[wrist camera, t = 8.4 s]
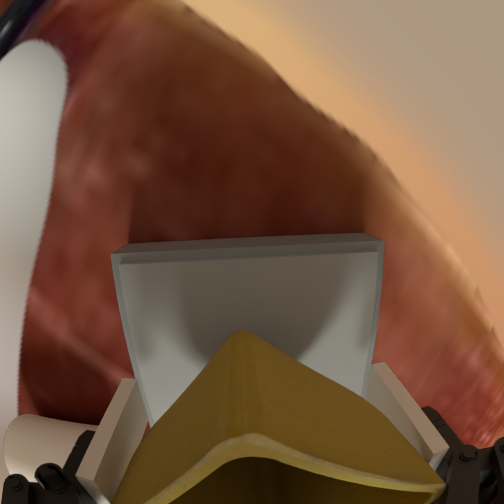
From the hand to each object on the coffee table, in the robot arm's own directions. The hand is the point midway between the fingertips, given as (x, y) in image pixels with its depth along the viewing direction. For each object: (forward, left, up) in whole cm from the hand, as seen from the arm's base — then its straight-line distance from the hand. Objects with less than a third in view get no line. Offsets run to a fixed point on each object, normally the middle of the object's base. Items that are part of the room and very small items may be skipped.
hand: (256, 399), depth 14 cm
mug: (-15, -12, -5) cm, 20 cm away
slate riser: (0, 0, -5) cm, 5 cm away
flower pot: (0, 0, -1) cm, 1 cm away
